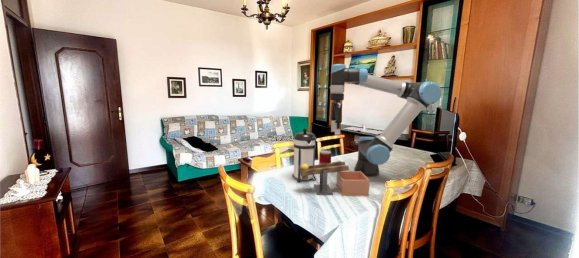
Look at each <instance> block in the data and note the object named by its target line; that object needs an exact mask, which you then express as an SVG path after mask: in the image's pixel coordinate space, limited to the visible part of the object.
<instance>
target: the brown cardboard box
mask: <svg viewBox="0 0 579 258" xmlns="http://www.w3.org/2000/svg"><path fill="white" fill-rule="evenodd" d="M335 178H336V180H335V181H336V182H335V185H336V189H337V190H338V191H339V193H340V195H341V196H342V197H343V196H344V197H349V196H350V197H351V196H352V197H354V196H357V197H361V196H364V197H366V196H370V195H369V194H370V182H371V181H370V179H369V177H368V176H365V175H364V174H363V173H362V172H361V171H353V170H352V171H350V170H348V171H340V172H336V176H335Z"/></svg>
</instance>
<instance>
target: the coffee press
mask: <svg viewBox="0 0 579 258" xmlns="http://www.w3.org/2000/svg"><path fill="white" fill-rule="evenodd" d="M316 139H317V137H316V134H314V133H313V132H309V131H308V129H307V128H306V127H305V128H302V132H301V131H299V132H297V133H295V134H294V136H293V141H294V142H293V173H292V175H291V176H292V177H293V178H296V181H297V183H301V181H302V180H303V179H302V176H301V174H300V167H299V165H300V166H301V165H302V164H307V165H308V166H312V165H316V164H315V163H316V162H315V160H316V158H315V157H316ZM310 179H311V180H312V182H316V180H317V178H316V177H315V175H308V179H307V180H310Z"/></svg>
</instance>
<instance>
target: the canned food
mask: <svg viewBox="0 0 579 258" xmlns="http://www.w3.org/2000/svg"><path fill="white" fill-rule="evenodd" d="M318 156H319V159H318V162H319V163H318V165H320V164H329V163H332V151H331V150H325V149H324V150H319V155H318Z"/></svg>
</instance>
